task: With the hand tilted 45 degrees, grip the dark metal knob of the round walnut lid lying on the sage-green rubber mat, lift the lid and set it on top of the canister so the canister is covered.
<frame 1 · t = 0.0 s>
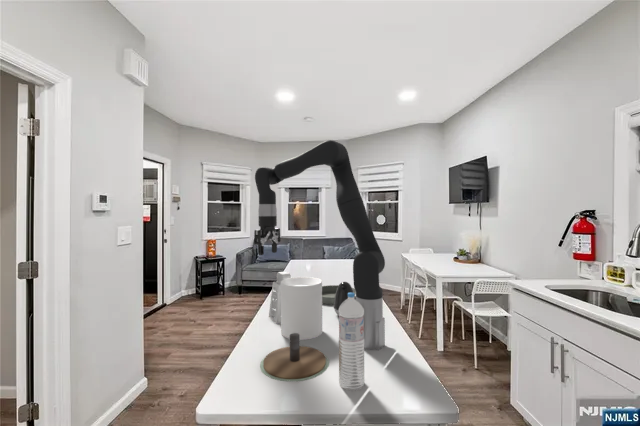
hand: (267, 253, 132), 29 cm above the counter, tool pointing down, fingers open, 8 cm apart
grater: (284, 318, 138), on the counter
cake pan: (334, 299, 168), on the counter
canister: (301, 333, 121), on the counter
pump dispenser: (344, 316, 141), on the counter
mat: (294, 364, 96), on the counter
lid: (294, 362, 96), point 1 cm above the counter, touching mat
water bottle: (351, 386, 84), on the counter
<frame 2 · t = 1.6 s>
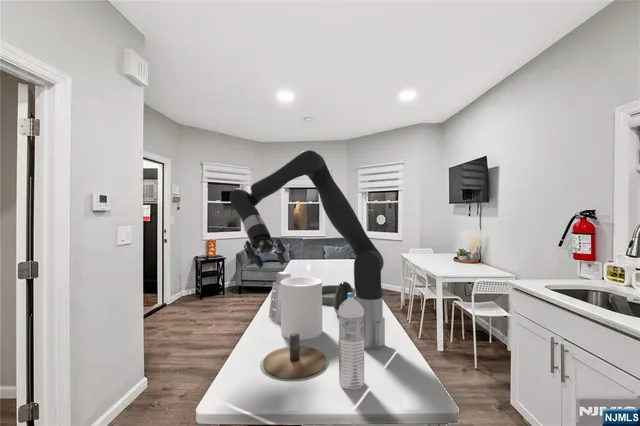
hand: (272, 265, 107), 29 cm above the counter, tool tilted 45°, fingers open, 8 cm apart
nothing on the counter moved.
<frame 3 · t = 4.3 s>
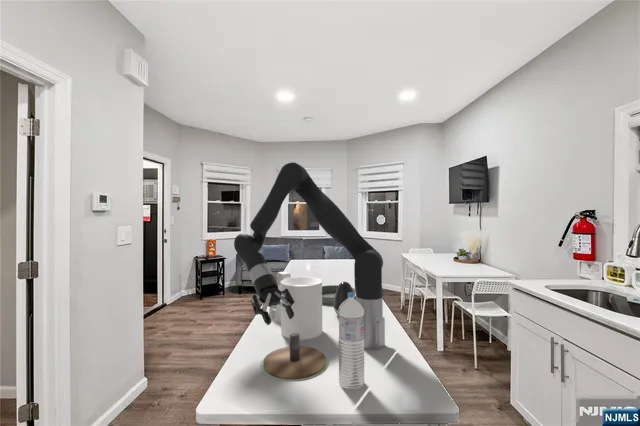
hand: (281, 320, 102), 12 cm above the counter, tool tilted 45°, fingers open, 8 cm apart
nothing on the counter moved.
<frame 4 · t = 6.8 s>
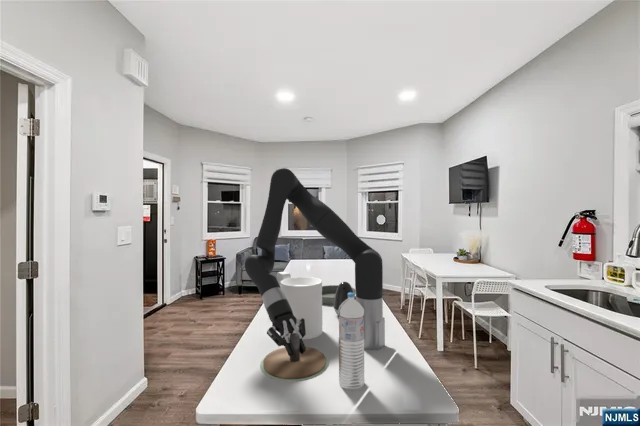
hand: (298, 354, 94), 4 cm above the counter, tool tilted 45°, fingers closed on lid, 3 cm apart
lid: (294, 362, 96), point 1 cm above the counter, touching gripper, mat
everything else where it was.
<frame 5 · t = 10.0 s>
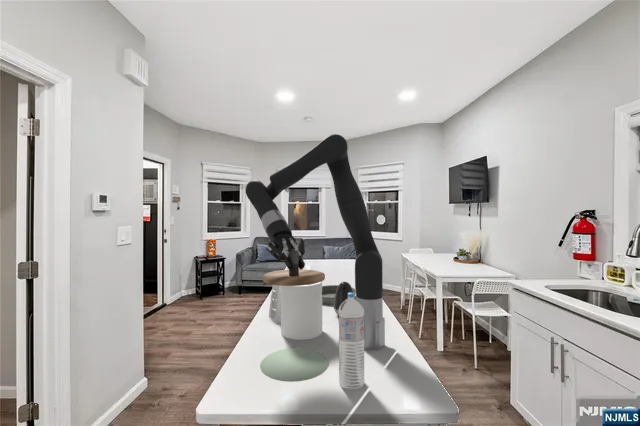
hand: (297, 268, 94), 30 cm above the counter, tool tilted 45°, fingers closed on lid, 3 cm apart
lid: (293, 278, 96), point 27 cm above the counter, touching gripper
everything else where it was.
when the fingers open (25 cm above the counter, at t = 13.1 s): lid drops 2 cm, resting on canister.
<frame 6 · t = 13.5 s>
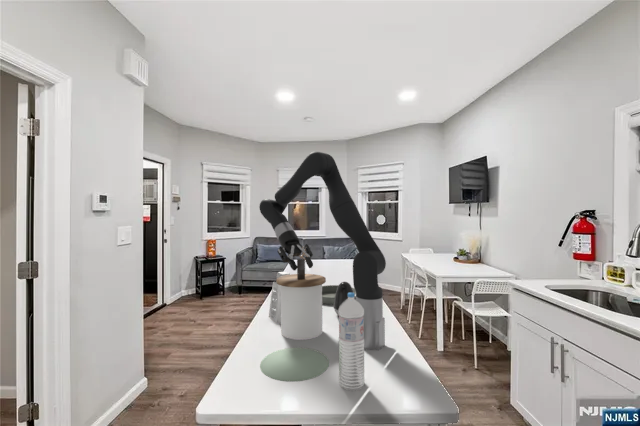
hand: (303, 267, 120), 25 cm above the counter, tool tilted 45°, fingers open, 7 cm apart
canister: (301, 333, 121), on the counter, touching lid
lid: (301, 281, 121), point 20 cm above the counter, touching canister
everything else where it was.
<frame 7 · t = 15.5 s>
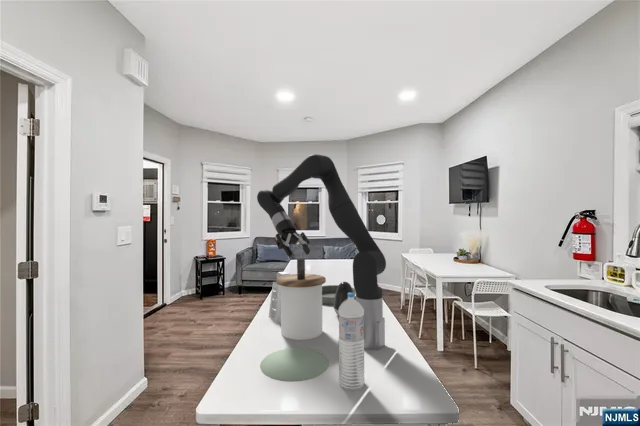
hand: (299, 254, 124), 30 cm above the counter, tool tilted 45°, fingers open, 8 cm apart
nothing on the counter moved.
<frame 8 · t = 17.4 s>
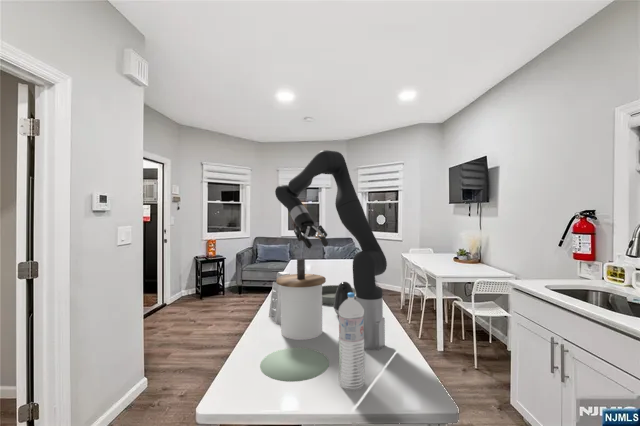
hand: (318, 246, 128), 33 cm above the counter, tool tilted 45°, fingers open, 8 cm apart
nothing on the counter moved.
at the end: lid 0.2 cm from the canister (horizontally); lid point 19.9 cm above the counter; lid tilted 0° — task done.
